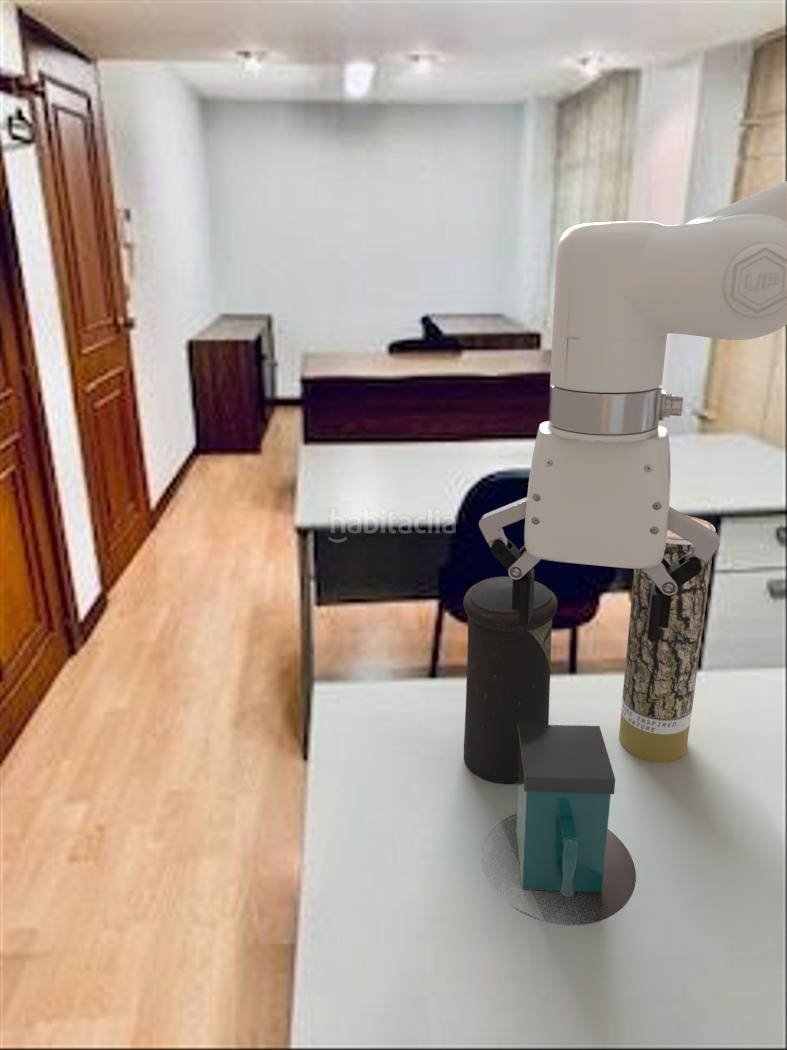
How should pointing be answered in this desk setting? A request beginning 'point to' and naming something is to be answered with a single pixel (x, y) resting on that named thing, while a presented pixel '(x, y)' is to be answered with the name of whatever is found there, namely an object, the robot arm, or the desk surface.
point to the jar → (563, 807)
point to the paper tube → (663, 664)
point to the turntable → (586, 892)
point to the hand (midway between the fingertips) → (587, 626)
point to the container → (504, 675)
